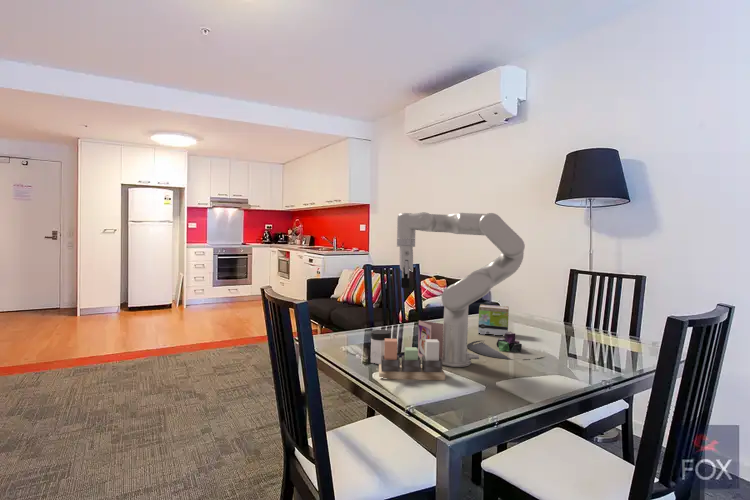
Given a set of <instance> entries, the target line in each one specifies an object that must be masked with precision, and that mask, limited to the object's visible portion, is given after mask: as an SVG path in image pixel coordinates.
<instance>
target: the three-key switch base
mask: <svg viewBox="0 0 750 500" xmlns="http://www.w3.org/2000/svg"><path fill="white" fill-rule="evenodd" d="M400 359H401V360H400ZM400 363H401V364H400ZM379 377H383V378H389V379H388V380H404V381H405V380H406V381H407V380H410V381H411V380H414V381H417V380H418V381H446V373H445V371H444V370H443V364H442V360H441V358H440V357H439V361H426V359H425V356H422V357H420V356H418V360H405V355H401V358H400V355H397V360H384V355H381V364H378V378H379Z"/></svg>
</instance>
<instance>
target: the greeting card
mask: <svg viewBox="0 0 750 500" xmlns="http://www.w3.org/2000/svg"><path fill="white" fill-rule="evenodd" d="M417 325H418V341H417V343H418V344H417V349H418V356H419V357H420V358H422V356H425V339H437V340H438V341H439V357H443V325H444V323H439V322H433V321H426V320H418V324H417Z"/></svg>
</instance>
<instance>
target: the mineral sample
mask: <svg viewBox="0 0 750 500" xmlns="http://www.w3.org/2000/svg"><path fill="white" fill-rule="evenodd" d="M495 345H496V347H497V348H498V349H499V350H495V349H494V348H492V347H491V346H490V345H488V344H486V343H485V342H484V341H482V340H475V341H472V342H469V343H467V349H469V350H471V352H474V353H476V354H479V355H483V356H486V357H489V358H497V359H503V360H511V361H514V359H513V358H511V357H509V356H508V355H505V354H504V353H501V352H514V353H518V354H519V353H520V354H521V353H522V347H523V344H522V343H520V341H519V340H518V339H516V333H514V332H512V331H508V332H507V333H505V335H504V336H503V337H500V338H498V339H497V341H496V344H495ZM543 358H544V356H543V357H536V360H539V359H543ZM530 360H531V359H530V358H528V359H527V358H524V359H523V361H530Z"/></svg>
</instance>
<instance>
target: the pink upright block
mask: <svg viewBox="0 0 750 500" xmlns="http://www.w3.org/2000/svg"><path fill="white" fill-rule="evenodd" d="M397 356H398V339H397V338H391V339H387V338H385V342H384V360H397Z"/></svg>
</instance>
